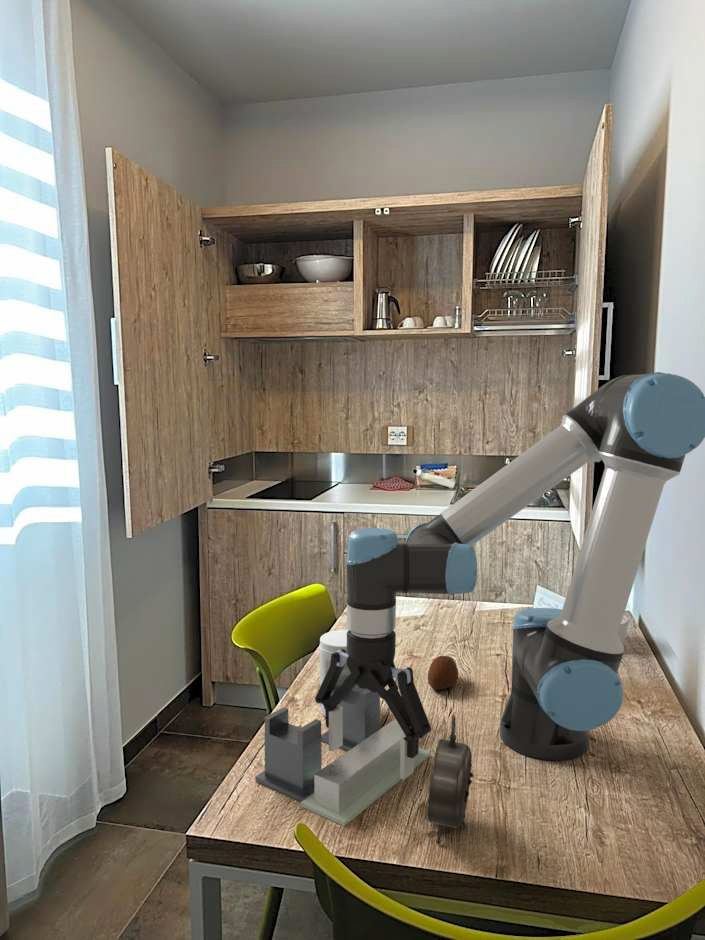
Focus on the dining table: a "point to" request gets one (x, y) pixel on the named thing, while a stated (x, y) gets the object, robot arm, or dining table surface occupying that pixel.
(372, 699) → the post right
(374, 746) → the rail
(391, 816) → the dining table surface
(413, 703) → the robot arm
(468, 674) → the dining table surface
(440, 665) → the potato
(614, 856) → the dining table surface
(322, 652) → the supplement tub
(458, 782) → the alarm clock
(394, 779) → the mat
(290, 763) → the post left
